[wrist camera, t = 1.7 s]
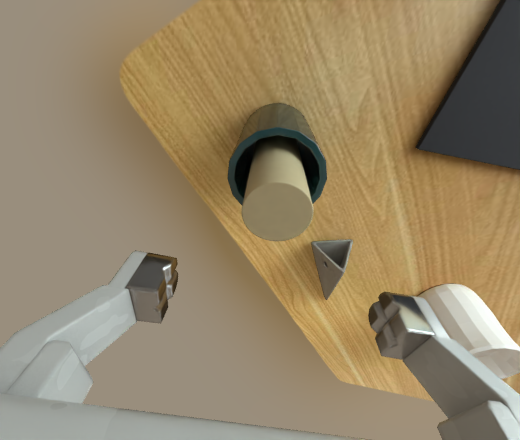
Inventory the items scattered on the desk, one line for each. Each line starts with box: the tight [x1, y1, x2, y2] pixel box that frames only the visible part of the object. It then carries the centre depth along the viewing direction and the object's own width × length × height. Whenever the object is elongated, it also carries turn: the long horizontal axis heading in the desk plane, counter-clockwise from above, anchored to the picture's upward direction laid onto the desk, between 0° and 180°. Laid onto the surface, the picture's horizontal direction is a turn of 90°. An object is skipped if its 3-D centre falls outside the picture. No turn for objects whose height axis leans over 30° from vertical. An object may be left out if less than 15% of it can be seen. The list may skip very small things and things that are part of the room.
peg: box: [242, 135, 313, 241], centre depth 18 cm, size 4×4×13 cm
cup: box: [418, 284, 520, 379], centre depth 33 cm, size 10×10×10 cm
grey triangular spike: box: [311, 239, 353, 300], centre depth 34 cm, size 6×5×13 cm
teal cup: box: [228, 103, 327, 205], centre depth 20 cm, size 7×7×9 cm
